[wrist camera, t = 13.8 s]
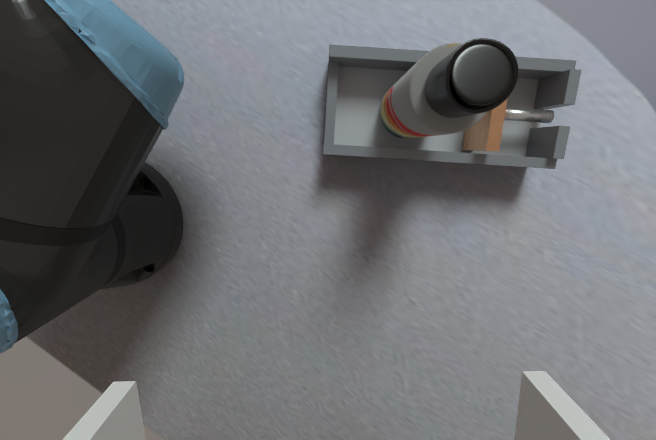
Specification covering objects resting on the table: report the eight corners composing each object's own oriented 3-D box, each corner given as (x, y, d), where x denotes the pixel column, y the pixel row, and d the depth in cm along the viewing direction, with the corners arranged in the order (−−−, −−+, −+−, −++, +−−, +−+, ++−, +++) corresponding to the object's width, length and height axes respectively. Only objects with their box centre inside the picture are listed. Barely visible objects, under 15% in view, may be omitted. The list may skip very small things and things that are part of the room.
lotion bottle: (380, 141, 38) (431, 136, 19) (376, 86, 37) (426, 20, 18) (433, 135, 38) (540, 124, 19) (430, 80, 37) (541, 6, 17)
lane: (324, 153, 40) (322, 154, 34) (329, 57, 38) (329, 41, 32) (527, 166, 40) (561, 169, 34) (544, 71, 38) (583, 58, 32)
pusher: (462, 149, 38) (485, 150, 32) (472, 77, 37) (499, 64, 31) (528, 154, 38) (564, 155, 32) (541, 81, 37) (581, 69, 31)
